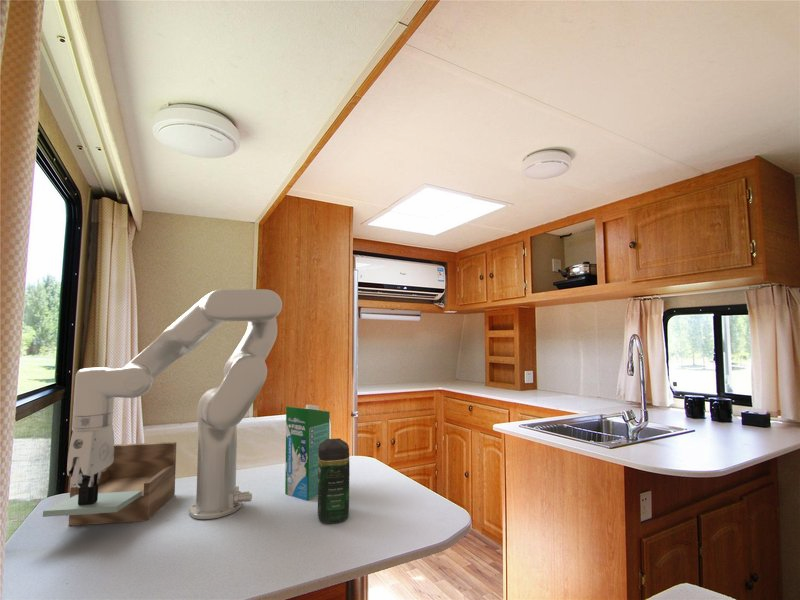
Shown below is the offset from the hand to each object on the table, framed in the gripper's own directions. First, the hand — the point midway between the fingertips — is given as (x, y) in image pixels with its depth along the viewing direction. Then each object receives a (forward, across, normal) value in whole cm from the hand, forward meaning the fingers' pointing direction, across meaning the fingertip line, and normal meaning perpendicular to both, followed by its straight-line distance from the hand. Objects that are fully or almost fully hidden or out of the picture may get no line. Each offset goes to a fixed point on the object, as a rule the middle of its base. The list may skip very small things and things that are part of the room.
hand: (87, 503), depth 92 cm
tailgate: (+2, +8, 0) cm, 8 cm away
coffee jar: (+8, +3, -55) cm, 56 cm away
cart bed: (+8, +16, 0) cm, 18 cm away
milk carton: (+8, +20, -47) cm, 52 cm away
